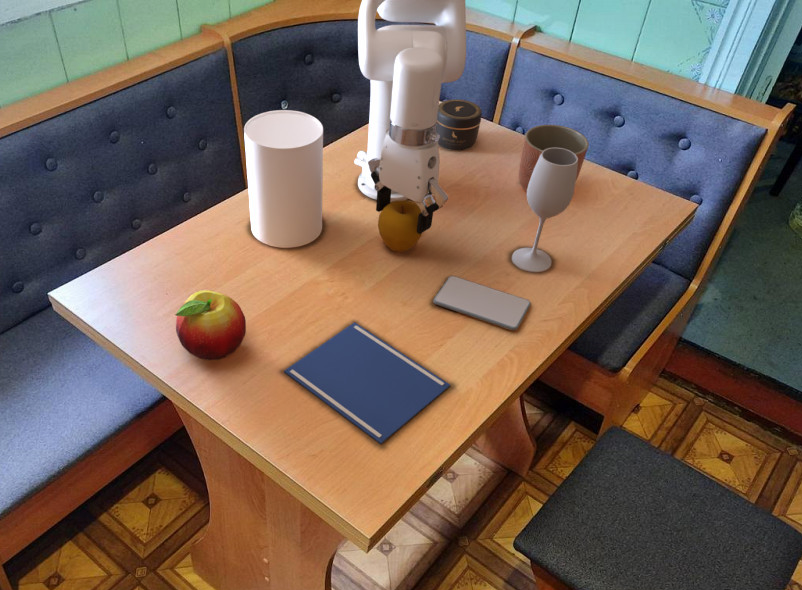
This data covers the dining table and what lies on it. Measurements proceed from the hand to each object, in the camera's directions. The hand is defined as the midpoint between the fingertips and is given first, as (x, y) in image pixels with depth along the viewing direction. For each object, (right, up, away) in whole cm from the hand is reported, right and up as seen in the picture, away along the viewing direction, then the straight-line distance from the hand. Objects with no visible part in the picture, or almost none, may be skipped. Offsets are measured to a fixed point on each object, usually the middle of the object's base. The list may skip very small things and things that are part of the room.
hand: (402, 219), depth 131 cm
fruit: (-31, -24, -15) cm, 42 cm away
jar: (+15, +25, +33) cm, 44 cm away
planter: (+31, +11, +20) cm, 39 cm away
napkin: (-7, -29, -19) cm, 35 cm away
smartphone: (+13, -16, -6) cm, 22 cm away
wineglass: (+24, -7, +3) cm, 25 cm away
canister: (-22, 0, +8) cm, 23 cm away
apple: (0, -4, +5) cm, 7 cm away
